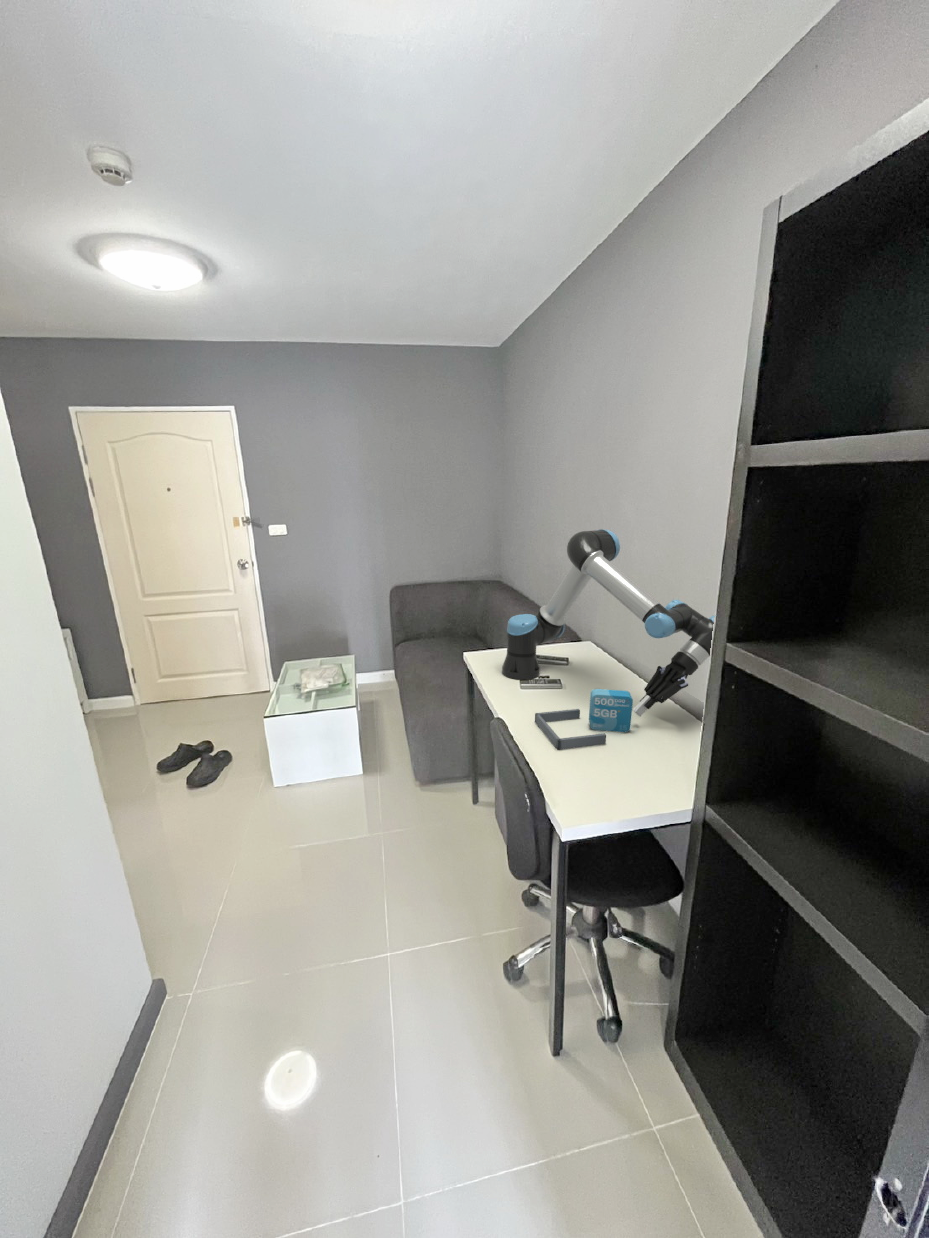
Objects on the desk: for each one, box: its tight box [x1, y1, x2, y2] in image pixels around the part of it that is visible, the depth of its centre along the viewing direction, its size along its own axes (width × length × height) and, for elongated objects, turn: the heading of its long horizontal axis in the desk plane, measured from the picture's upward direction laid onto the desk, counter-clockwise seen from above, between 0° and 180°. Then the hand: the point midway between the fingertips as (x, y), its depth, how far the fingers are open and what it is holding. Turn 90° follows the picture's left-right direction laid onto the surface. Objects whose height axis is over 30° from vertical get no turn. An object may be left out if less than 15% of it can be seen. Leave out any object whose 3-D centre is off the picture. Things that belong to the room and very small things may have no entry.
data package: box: [588, 688, 634, 733], centre depth 149 cm, size 12×4×12 cm, turn 81°
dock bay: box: [534, 708, 607, 751], centre depth 148 cm, size 18×15×3 cm
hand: (636, 713), depth 151 cm, fingers closed
